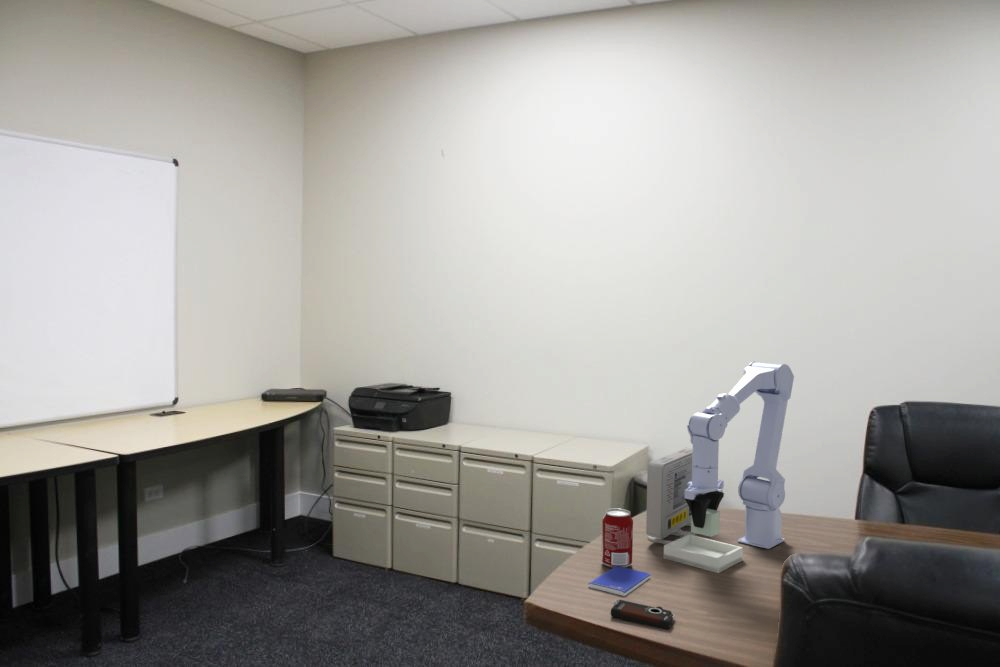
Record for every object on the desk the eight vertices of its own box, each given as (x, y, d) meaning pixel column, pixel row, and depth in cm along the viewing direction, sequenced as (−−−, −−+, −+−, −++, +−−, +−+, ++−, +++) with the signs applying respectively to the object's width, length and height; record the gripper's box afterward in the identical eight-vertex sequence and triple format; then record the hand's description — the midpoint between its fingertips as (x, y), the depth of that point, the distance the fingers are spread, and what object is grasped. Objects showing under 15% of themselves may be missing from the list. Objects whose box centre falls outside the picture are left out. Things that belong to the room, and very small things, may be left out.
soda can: (631, 571, 167) (633, 517, 167) (600, 569, 168) (601, 515, 168) (632, 560, 174) (633, 508, 173) (602, 558, 175) (603, 506, 174)
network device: (678, 518, 208) (680, 445, 207) (710, 524, 202) (712, 449, 201) (637, 543, 187) (638, 461, 186) (671, 550, 182) (672, 466, 181)
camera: (621, 594, 149) (678, 607, 144) (620, 609, 149) (677, 622, 144) (611, 603, 143) (669, 617, 138) (610, 618, 143) (668, 632, 138)
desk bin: (689, 546, 184) (689, 534, 184) (742, 560, 175) (742, 547, 175) (663, 558, 176) (663, 545, 176) (718, 573, 167) (718, 559, 166)
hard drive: (624, 590, 153) (650, 573, 164) (588, 581, 158) (615, 565, 168) (624, 598, 154) (650, 580, 164) (588, 589, 158) (615, 572, 168)
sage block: (699, 528, 178) (700, 506, 178) (719, 532, 175) (720, 511, 174) (690, 531, 175) (691, 510, 175) (710, 536, 172) (711, 514, 171)
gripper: (704, 458, 182) (703, 514, 183) (673, 467, 172) (671, 527, 173) (732, 463, 178) (731, 521, 178) (701, 473, 167) (700, 534, 168)
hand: (703, 524), depth 175 cm, fingers closed on sage block, 4 cm apart
